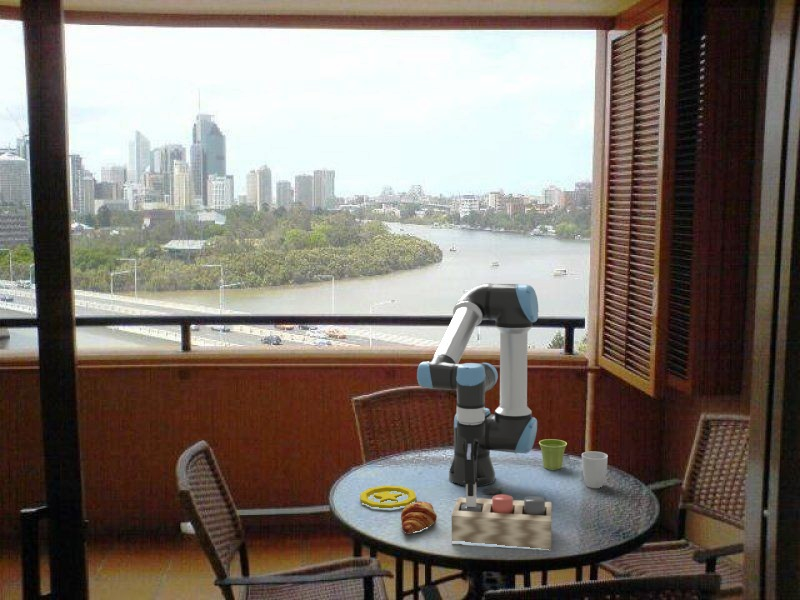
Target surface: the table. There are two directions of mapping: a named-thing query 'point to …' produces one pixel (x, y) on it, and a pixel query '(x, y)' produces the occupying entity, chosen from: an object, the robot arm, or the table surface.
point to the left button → (471, 508)
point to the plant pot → (552, 453)
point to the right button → (534, 506)
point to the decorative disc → (387, 496)
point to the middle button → (502, 504)
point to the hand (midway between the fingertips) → (471, 505)
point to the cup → (594, 468)
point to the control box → (502, 525)
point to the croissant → (417, 516)
